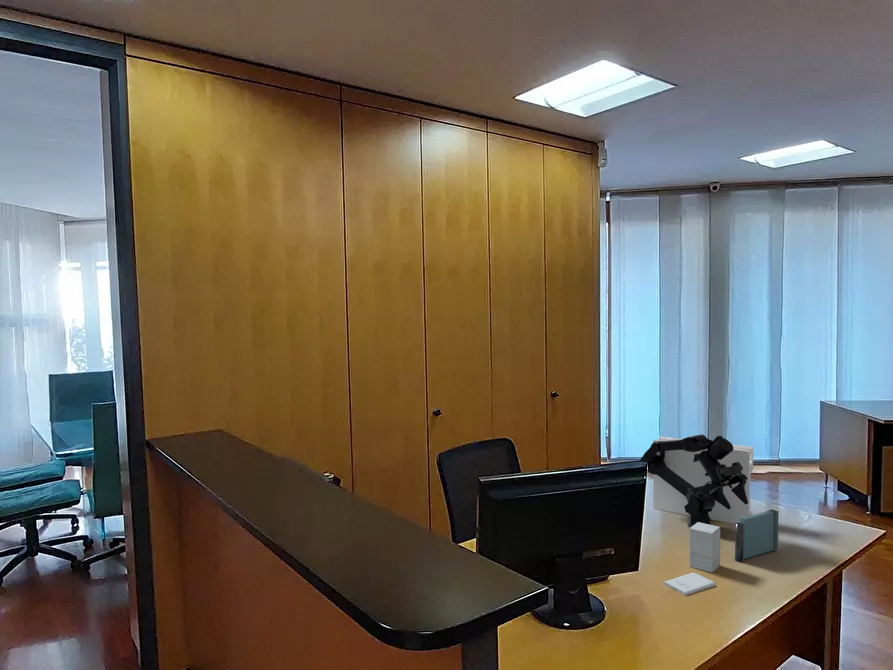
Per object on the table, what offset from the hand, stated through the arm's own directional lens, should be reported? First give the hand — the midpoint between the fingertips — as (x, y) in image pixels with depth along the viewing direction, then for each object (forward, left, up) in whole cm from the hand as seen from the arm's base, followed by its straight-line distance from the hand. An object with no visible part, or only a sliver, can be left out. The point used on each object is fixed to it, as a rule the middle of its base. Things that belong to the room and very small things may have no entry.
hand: (738, 506), depth 218 cm
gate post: (-4, -15, -13) cm, 20 cm away
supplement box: (-16, -20, -13) cm, 29 cm away
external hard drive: (-24, -34, -14) cm, 44 cm away
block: (-5, +29, -13) cm, 32 cm away
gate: (+4, -9, -12) cm, 16 cm away
